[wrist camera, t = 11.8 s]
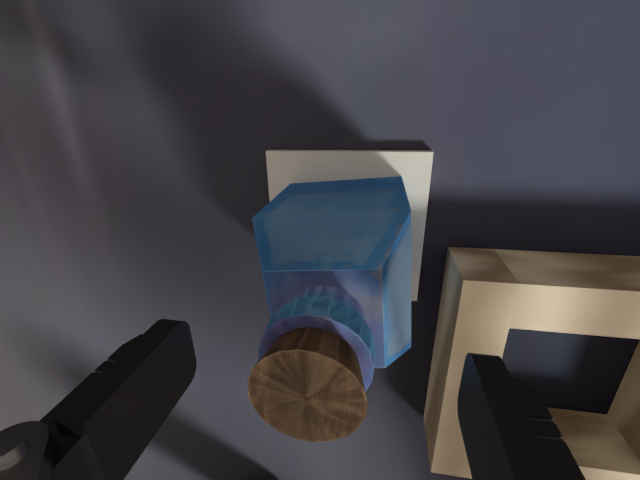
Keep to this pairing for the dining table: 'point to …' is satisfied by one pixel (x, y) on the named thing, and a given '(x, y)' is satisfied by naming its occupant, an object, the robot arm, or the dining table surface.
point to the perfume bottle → (330, 301)
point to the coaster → (361, 165)
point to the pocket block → (542, 315)
